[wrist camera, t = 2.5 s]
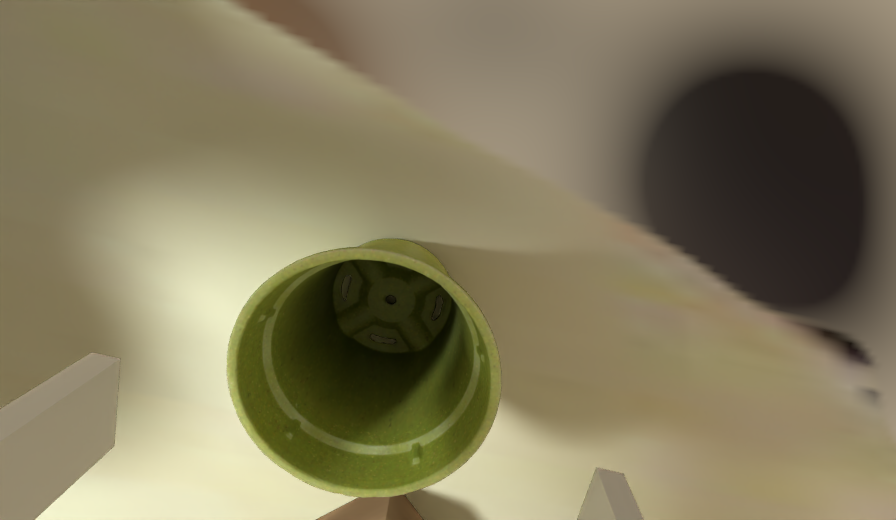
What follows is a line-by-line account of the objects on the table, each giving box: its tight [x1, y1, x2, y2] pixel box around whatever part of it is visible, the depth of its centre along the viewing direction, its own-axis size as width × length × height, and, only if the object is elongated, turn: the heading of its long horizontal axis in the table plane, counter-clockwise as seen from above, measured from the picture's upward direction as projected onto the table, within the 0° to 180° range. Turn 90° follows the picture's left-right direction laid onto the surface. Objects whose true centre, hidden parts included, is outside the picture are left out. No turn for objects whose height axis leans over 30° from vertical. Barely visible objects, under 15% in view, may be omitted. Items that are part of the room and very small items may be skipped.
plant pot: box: [227, 239, 501, 498], centre depth 22 cm, size 9×9×9 cm
